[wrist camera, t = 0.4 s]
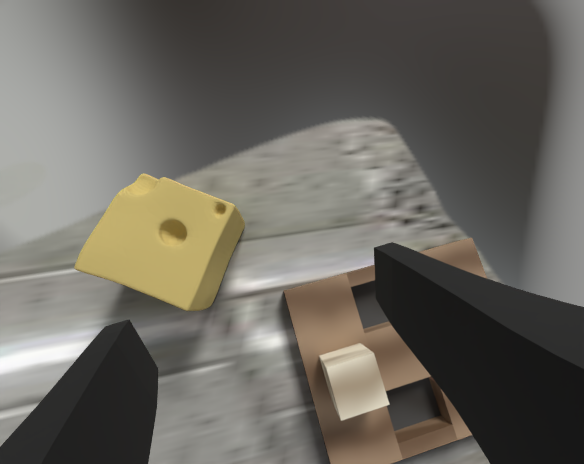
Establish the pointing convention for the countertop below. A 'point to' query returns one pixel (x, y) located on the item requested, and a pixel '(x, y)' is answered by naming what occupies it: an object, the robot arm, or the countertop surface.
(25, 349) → the countertop surface
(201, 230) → the cheese
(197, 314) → the countertop surface
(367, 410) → the block
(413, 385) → the trap deck
